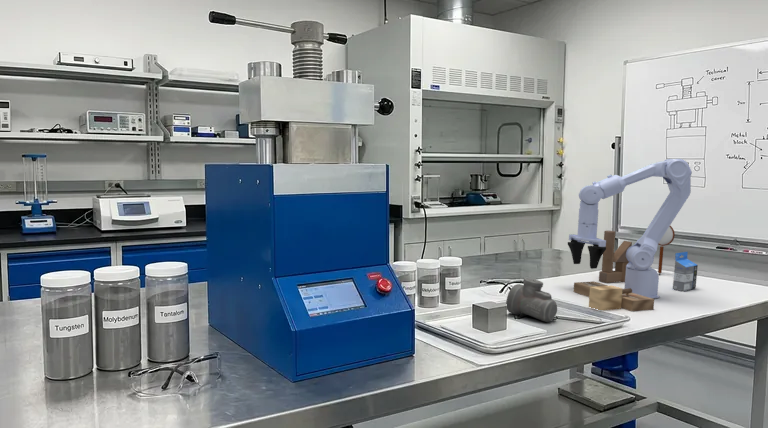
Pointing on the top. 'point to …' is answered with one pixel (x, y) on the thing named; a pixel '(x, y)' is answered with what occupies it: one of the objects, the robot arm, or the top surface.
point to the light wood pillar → (607, 297)
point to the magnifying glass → (664, 241)
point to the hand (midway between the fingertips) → (585, 266)
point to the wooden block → (614, 260)
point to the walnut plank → (628, 301)
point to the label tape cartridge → (684, 273)
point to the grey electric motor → (531, 300)
